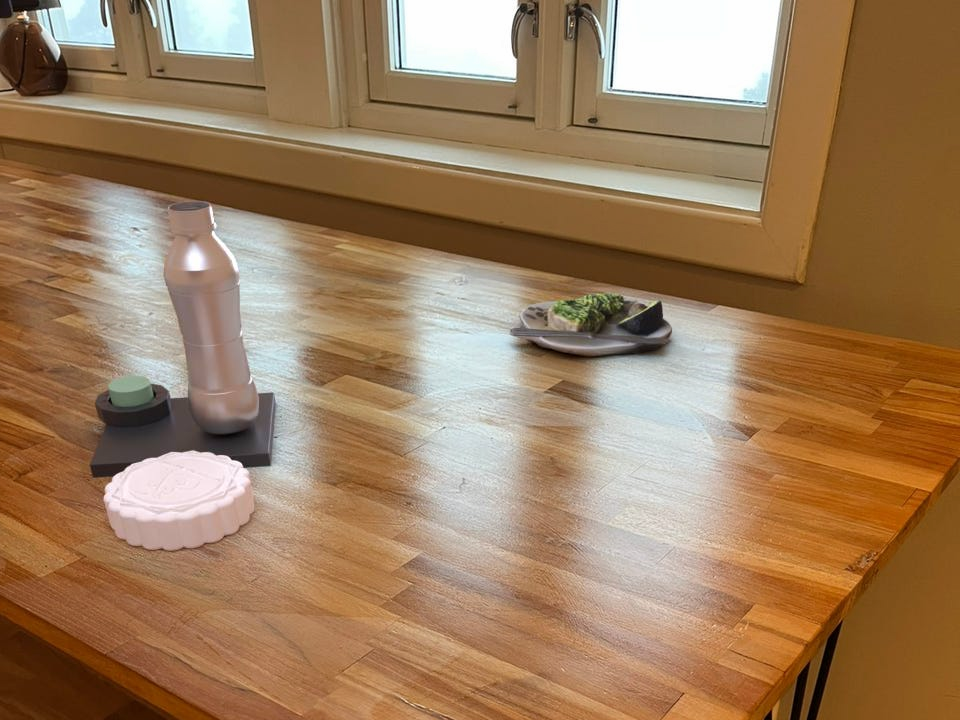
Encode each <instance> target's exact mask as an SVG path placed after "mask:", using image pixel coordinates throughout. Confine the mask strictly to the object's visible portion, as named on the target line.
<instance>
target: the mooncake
mask: <svg viewBox="0 0 960 720" xmlns="http://www.w3.org/2000/svg"><path fill="white" fill-rule="evenodd" d="M254 500H255V499H254V492H253V487H252V481H251V475H250V472H249V470H248V469H247V468H243V465H242V464H241V463H240V462H238V461H234V460H231V459H230V458H229V457H228V456H225V455H217V456H216V455H215V454H213V453H210V452H203V453H200V452H197V451H194V450H193V451H188V452H183V453H179V452H170V453H168V454H165V455H162V456H160V457H158V458H148V459H145V460H143V461H142V462H138V463H134V464H131V466H128V467H127V468H126V469H125V470H124V471H123V472H120V473H118V474H116V475H115V476H112V478H111V481H110V482H109V483H107V484H106V485H105V487H104V495H103V504H104V507H105V510H106V515H107V518H108V522H109V525H110V527H111V529H112V530H114V533H115V536H116V537H117V538H118V539H120V540H122V541H123V540H124V541H125V542H126V543H127V544H128V545H129V546H132V547H142V548H144V549H145V550H148V551H157V550H158V551H159V550H161V549H162V550H164V551H166V552H167V551H168V552H175V551H179V550H181V549H183V548H185V549H197V548H201V547H202V546H203V545H205V544H215V543H218V542H221V541H222V539H224V536H225V537H226V536H231V535H234V534H236V533H237V532H238V531H239V529H240V527H242V526H244V525H247V523H248V522H249V521H250V519H251V518H250V516H251V515H252V514H254V512H255V504H254V503H255V502H254Z"/></svg>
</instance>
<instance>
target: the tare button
mask: <svg viewBox="0 0 960 720" xmlns="http://www.w3.org/2000/svg"><path fill="white" fill-rule="evenodd" d="M151 384H152V382H151V380H150V379H149V378H148V377H146V376H141V375H129V376H128V375H127V376H123V377H118V378H116V379H113V380H112V381H110V382H109V383H108V385H107V390H109V393H110V397H111V401H112V404H113V405H115V406H120V407H130V406H138V405H141V404H145V403H148V402H150V401H151V400H153V399H154V396H153V391H152V387H151Z"/></svg>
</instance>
